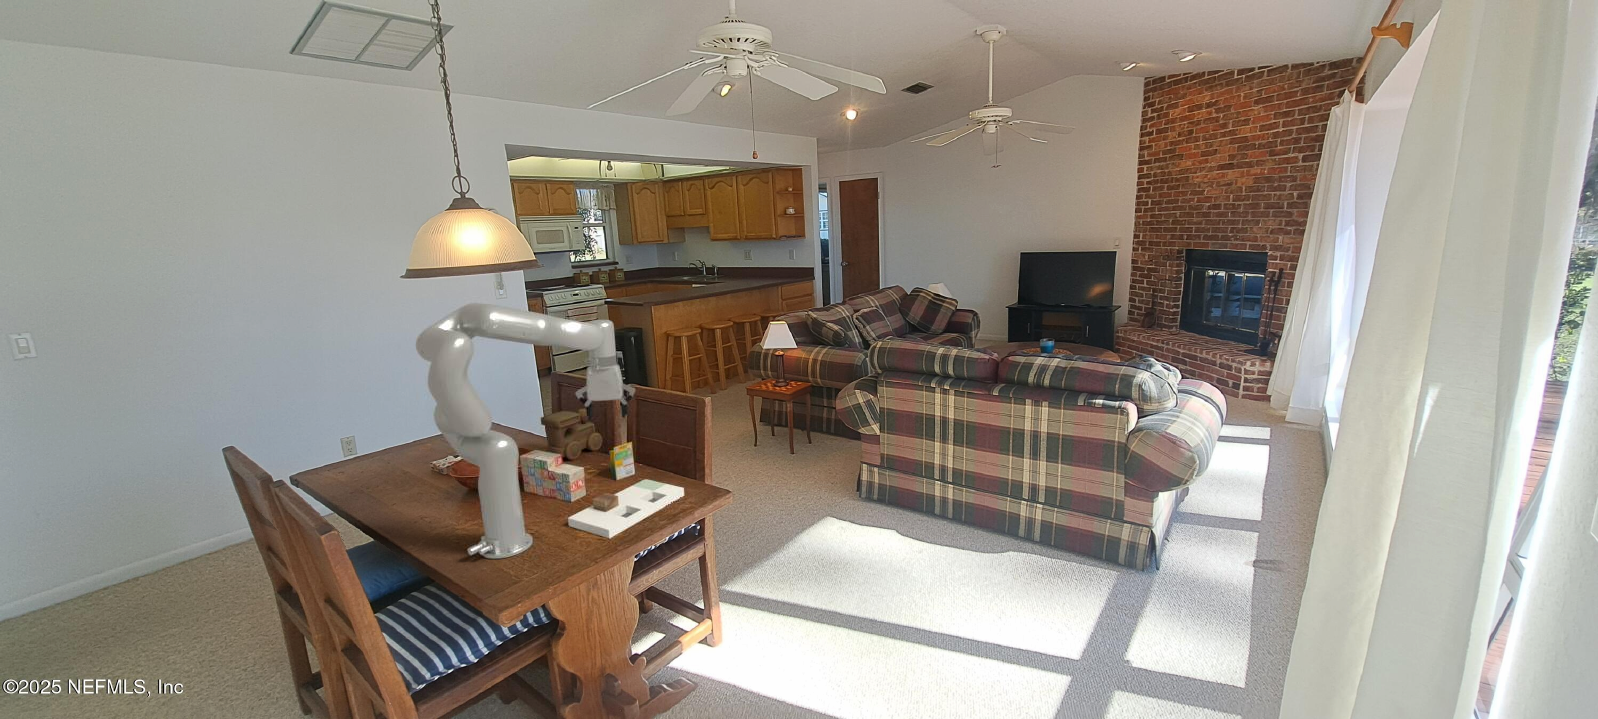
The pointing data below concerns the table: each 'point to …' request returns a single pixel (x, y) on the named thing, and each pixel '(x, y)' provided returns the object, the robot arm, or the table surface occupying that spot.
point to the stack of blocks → (552, 476)
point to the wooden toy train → (570, 433)
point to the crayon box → (622, 461)
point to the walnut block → (605, 502)
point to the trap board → (627, 508)
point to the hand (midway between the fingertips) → (607, 417)
